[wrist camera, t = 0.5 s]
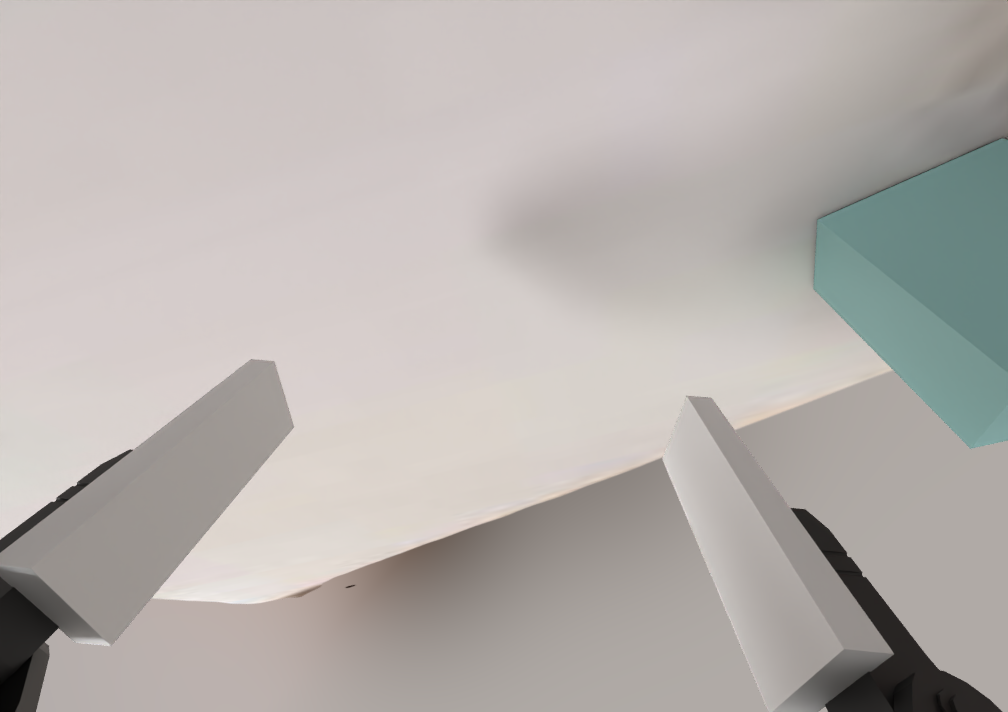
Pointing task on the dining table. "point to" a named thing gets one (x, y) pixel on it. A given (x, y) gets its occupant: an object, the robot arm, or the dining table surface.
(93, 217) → the dining table surface
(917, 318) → the teal pillar
